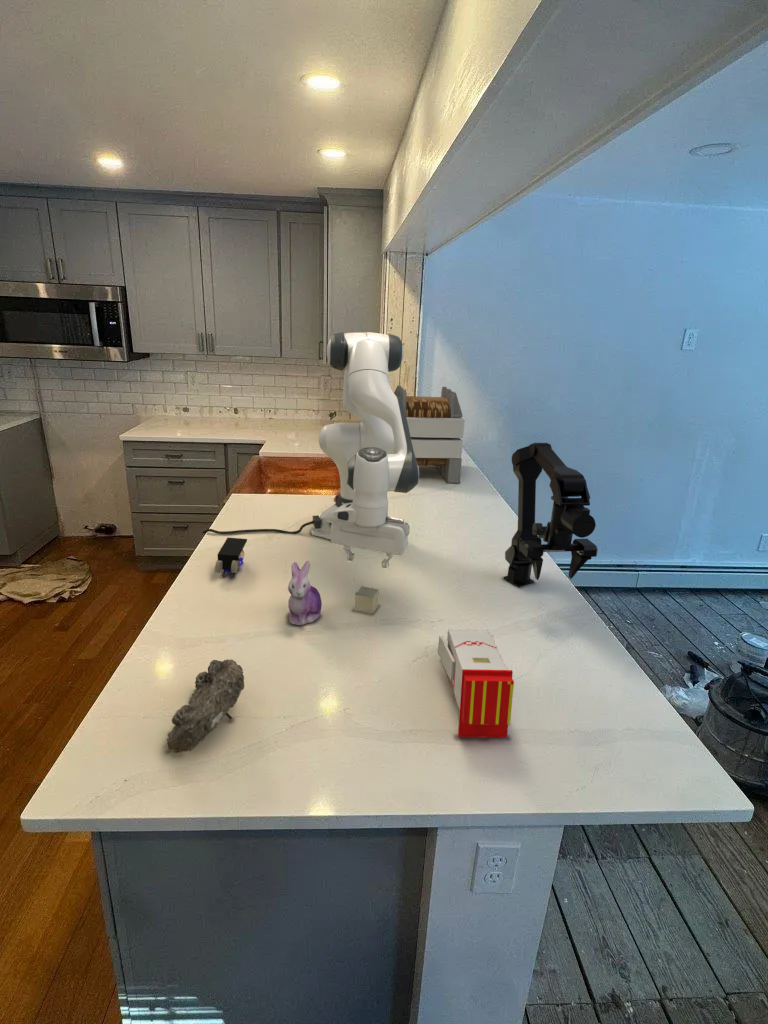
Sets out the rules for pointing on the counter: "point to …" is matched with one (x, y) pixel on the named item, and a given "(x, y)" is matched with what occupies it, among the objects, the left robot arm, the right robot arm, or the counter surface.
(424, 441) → the transformer
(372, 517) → the left robot arm
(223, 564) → the figurine character
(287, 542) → the counter surface
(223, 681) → the fossil
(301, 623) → the figurine
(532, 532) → the right robot arm
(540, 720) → the counter surface
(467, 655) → the toy
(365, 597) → the beige cube
